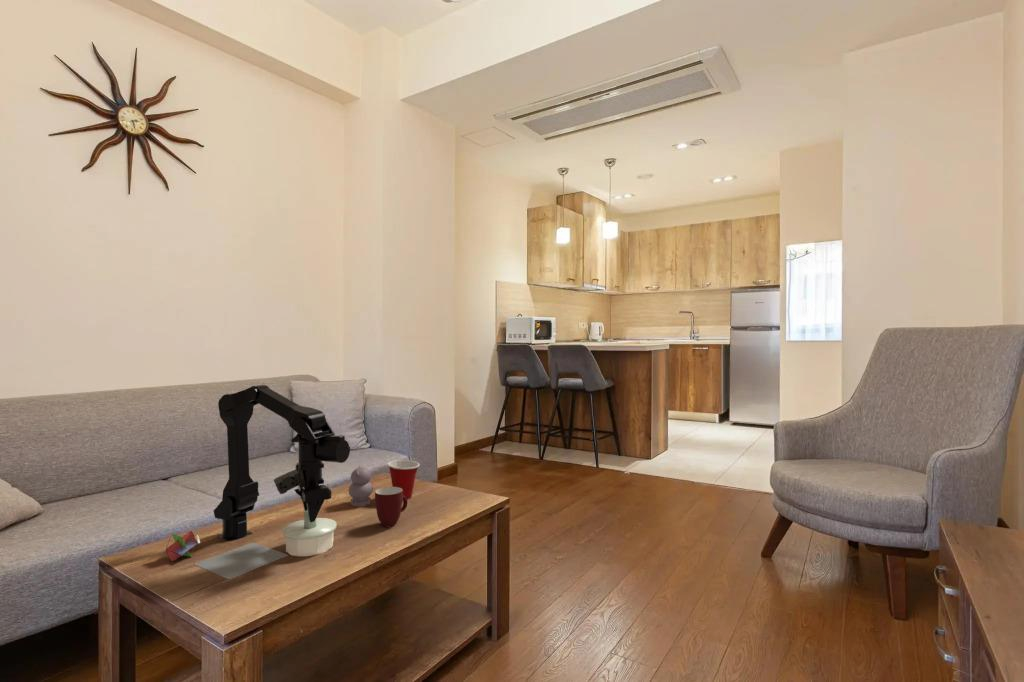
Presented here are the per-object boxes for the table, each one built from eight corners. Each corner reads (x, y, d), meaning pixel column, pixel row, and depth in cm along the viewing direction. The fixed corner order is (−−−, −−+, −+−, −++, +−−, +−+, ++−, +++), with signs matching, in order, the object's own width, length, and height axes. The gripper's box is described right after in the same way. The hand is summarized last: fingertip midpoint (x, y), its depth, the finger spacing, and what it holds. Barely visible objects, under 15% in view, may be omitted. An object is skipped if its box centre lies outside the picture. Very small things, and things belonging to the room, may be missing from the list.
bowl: (278, 551, 130) (278, 532, 130) (314, 537, 139) (314, 519, 139) (305, 561, 124) (305, 541, 124) (341, 545, 134) (341, 527, 134)
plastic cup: (415, 502, 169) (415, 467, 169) (383, 502, 169) (383, 466, 169) (422, 493, 180) (422, 459, 180) (392, 492, 180) (392, 458, 180)
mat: (193, 566, 122) (193, 564, 122) (253, 544, 135) (253, 542, 135) (229, 581, 114) (229, 579, 114) (288, 557, 127) (288, 555, 127)
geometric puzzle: (167, 561, 119) (188, 528, 123) (150, 556, 122) (171, 523, 127) (192, 570, 124) (211, 537, 129) (175, 564, 127) (194, 532, 132)
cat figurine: (371, 507, 165) (371, 470, 165) (346, 508, 164) (346, 471, 163) (374, 498, 173) (374, 463, 173) (350, 499, 172) (350, 464, 172)
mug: (394, 515, 157) (394, 483, 157) (414, 520, 153) (414, 487, 152) (368, 526, 148) (368, 492, 148) (389, 531, 143) (389, 496, 143)
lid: (271, 533, 129) (271, 514, 129) (314, 517, 141) (314, 500, 141) (304, 543, 123) (304, 523, 123) (347, 526, 134) (347, 508, 134)
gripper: (270, 456, 135) (270, 515, 135) (283, 472, 119) (283, 537, 119) (314, 451, 141) (314, 507, 141) (331, 465, 126) (331, 528, 126)
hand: (310, 519), depth 132 cm, fingers open, 4 cm apart
